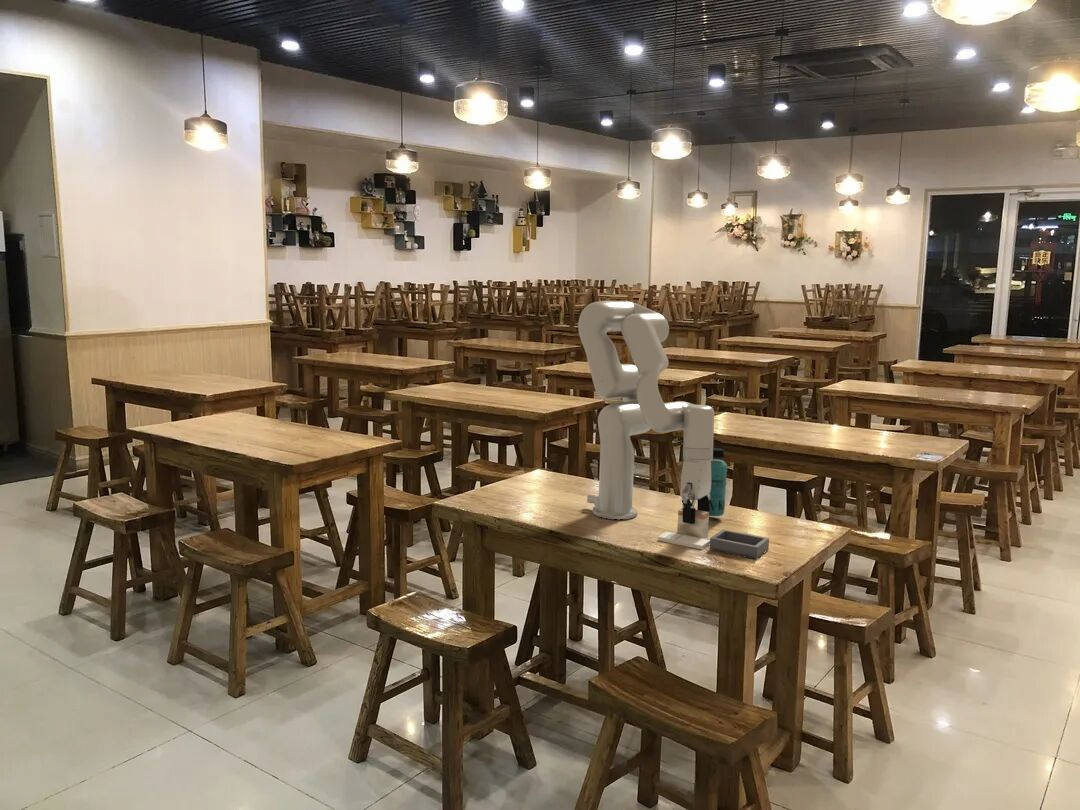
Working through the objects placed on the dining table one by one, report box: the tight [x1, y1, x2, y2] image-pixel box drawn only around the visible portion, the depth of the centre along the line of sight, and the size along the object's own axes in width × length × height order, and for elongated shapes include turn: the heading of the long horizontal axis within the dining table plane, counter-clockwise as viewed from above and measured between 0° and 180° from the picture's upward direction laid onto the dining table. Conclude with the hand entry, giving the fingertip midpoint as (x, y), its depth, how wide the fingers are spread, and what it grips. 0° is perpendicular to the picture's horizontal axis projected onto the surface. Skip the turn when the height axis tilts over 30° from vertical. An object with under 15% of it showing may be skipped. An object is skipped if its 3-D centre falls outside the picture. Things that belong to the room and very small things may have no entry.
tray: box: [709, 529, 770, 560], centre depth 212 cm, size 12×9×3 cm
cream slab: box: [657, 530, 710, 550], centre depth 218 cm, size 12×6×1 cm, turn 58°
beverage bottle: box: [709, 447, 728, 517], centre depth 238 cm, size 6×7×20 cm
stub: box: [676, 507, 710, 539], centre depth 221 cm, size 7×4×7 cm, turn 58°
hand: (696, 518), depth 220 cm, fingers open, 9 cm apart
